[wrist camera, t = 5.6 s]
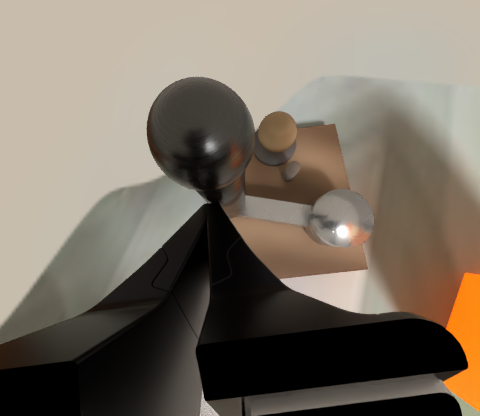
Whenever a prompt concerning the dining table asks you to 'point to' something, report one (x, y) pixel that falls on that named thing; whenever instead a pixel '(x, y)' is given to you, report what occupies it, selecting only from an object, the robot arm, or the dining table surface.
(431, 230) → the dining table surface
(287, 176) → the base
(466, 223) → the dining table surface
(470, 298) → the orange juice
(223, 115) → the lever
